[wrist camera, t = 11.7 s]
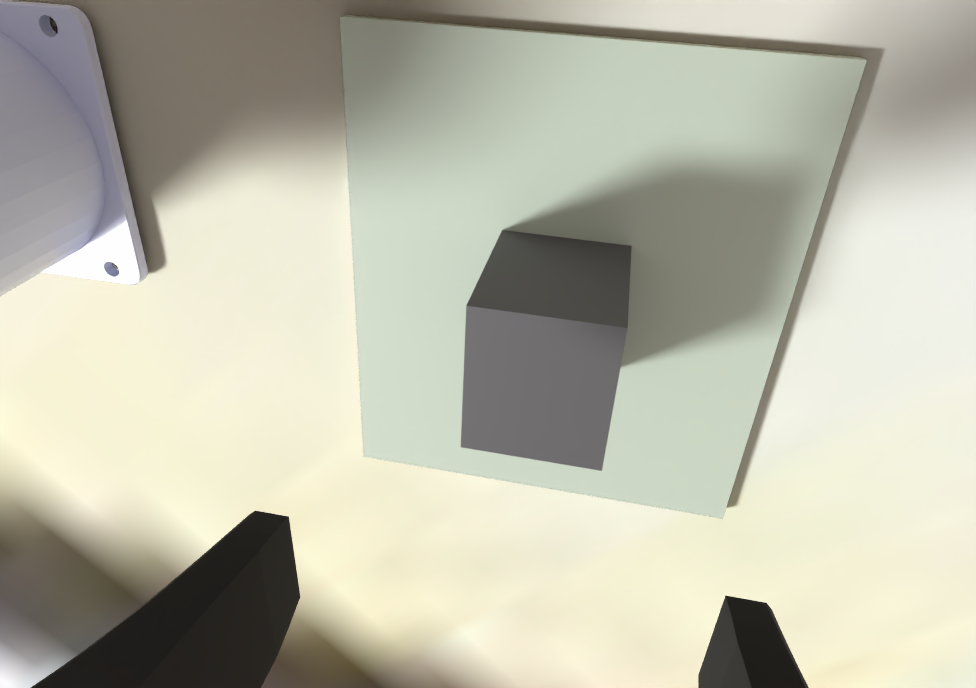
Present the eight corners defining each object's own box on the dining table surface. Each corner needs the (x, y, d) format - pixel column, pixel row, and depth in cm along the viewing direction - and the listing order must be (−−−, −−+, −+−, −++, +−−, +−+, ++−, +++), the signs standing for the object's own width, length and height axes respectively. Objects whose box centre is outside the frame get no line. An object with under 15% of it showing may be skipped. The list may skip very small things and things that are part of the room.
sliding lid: (372, 438, 25) (311, 554, 21) (353, 11, 18) (251, 42, 13) (720, 497, 24) (737, 637, 19) (855, 53, 16) (939, 104, 12)
